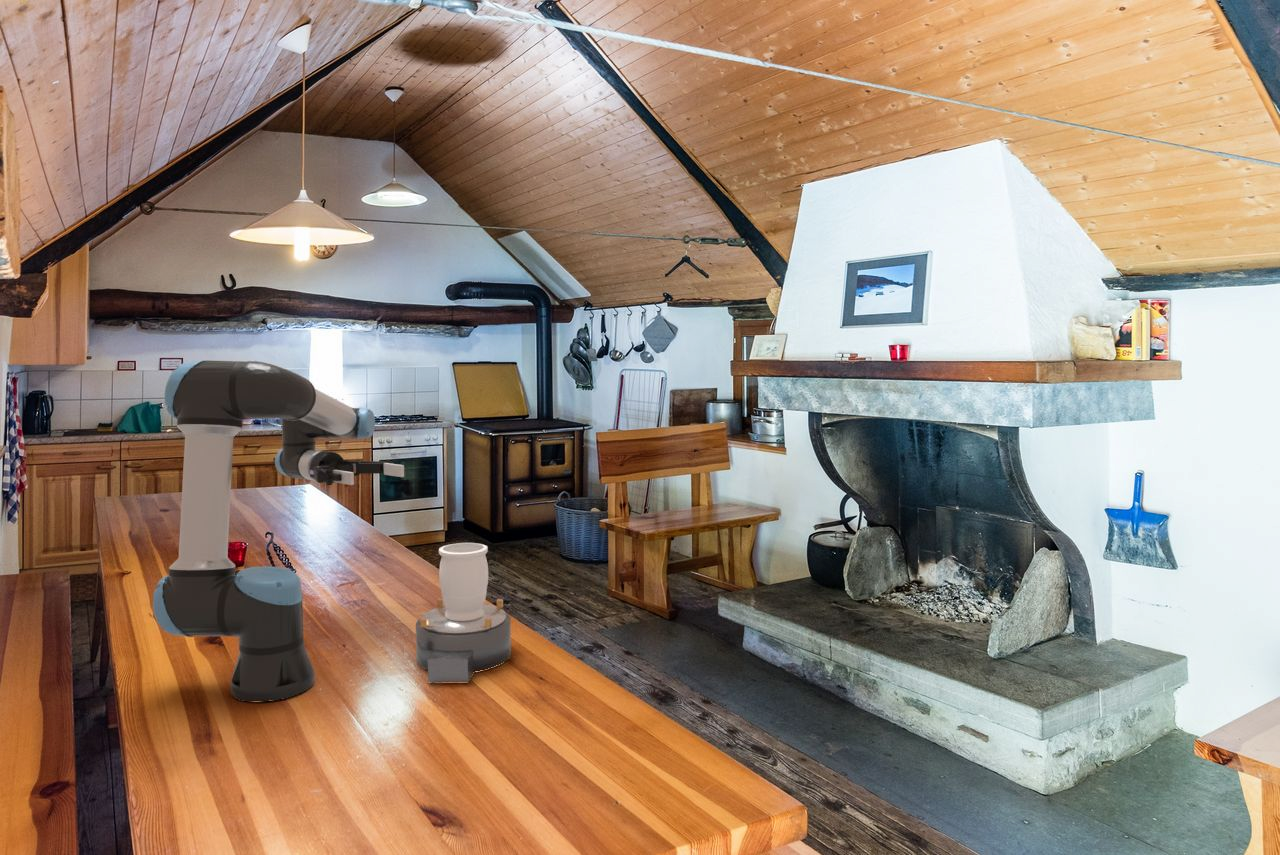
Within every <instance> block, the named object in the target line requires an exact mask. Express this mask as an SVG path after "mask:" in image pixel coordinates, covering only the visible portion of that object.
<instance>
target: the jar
mask: <svg viewBox="0 0 1280 855" xmlns="http://www.w3.org/2000/svg"><path fill="white" fill-rule="evenodd" d="M488 551H489V549H488V545H485V544H483V543H477V542H476V543H475V542H458V543H452V544H447V545H443V546H441V547H439V549H438V554H439V556H441V559H440V563H439V567H438V568H439V572H438V574H439V575H438V577H439V578H438V580H439V581H438V582H439V585H440V592H441V597H442V598H441V599H443V602H444V606H446V608H447V611H446V613H445V617H446V618H447V619H449V620H453V621H471V620H475V619H478V618H480V617H482V616H483V615H484V610H483V609H482V606H483V604H485V601H486V597H487V592H488V591H487V590H488V584H489V565H488V561H487V557H486V554H487V553H488Z"/></svg>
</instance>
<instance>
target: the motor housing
mask: <svg viewBox="0 0 1280 855" xmlns="http://www.w3.org/2000/svg"><path fill="white" fill-rule="evenodd" d="M436 603H437V604H436V607H435V608H433V609H431V610H428V611H427V612H425V613H424V614H422V616H421V617H420V618H419V619H417V620H416V622H415V640H416V642H415V643H416V645H415V646H416V647H415V648H416V663H418V664H419V665H420V666H421V667H423V668H425V669H426V670H425V671H427V670H428V671H427V680H428V681H427V683H428V682H469V683H470V681H471V679H472V678H471V676H472V674H473V675H474V673H473V672H475V671H480V670H485V669H488V668H491V667H494V666H496V665H499V664H501V663H503V662H505V661H506V660H507V659H508V658H509V657H510V658H511V656H510V655H512V652H511V651H512V643H511V642H512V640H511V639H512V638H511V635H512V634H511V633H512V631H511V629H512V628H511V615H510V614H509V613H508V612H506V611H505V610H504V609H503V607H504V599H503V598H497V600H496V605H492V604H485V603H484V604H483V606H482V609H483V610H484V615H483V616H482V617H480V618H478V619H475V620H471V621H453V620H449V619H447V618H446V617H445V613H446V611H447V608H446V606H445V604H444V602H443V598H438V599H437V600H436ZM510 658H509V659H510ZM505 663H506V662H505ZM418 664H417V665H418ZM419 665H418V666H419ZM420 666H419V667H420ZM421 667H420V668H421ZM472 677H473V676H472ZM470 678H471V679H470ZM469 680H470V681H469Z"/></svg>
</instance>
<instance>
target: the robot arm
mask: <svg viewBox="0 0 1280 855" xmlns="http://www.w3.org/2000/svg"><path fill="white" fill-rule="evenodd" d="M164 403H165V404H164V405H165V406H166V411H167V412H168V415H170V416H171V417H172V418H174V419H176V428H177V429H178V430H180V432H182V433H183V435H184V450H183V466H182V467H183V470H182V486H181V487H182V489H181V490H182V491H181V504H180V506H181V508H180V523H179V524H180V525H179V526H180V527H179V543H178V558H177V559H176V560H175V561H174V562H173V563H172V564H171V565H170V566H168V574H167V575H165V576H163V577H161V579H159V580H158V582H157V584H156V588H155V589H154V592H153V598H152V607H153V608H152V609H153V614H154V617H155V621H156V622H157V624H158V626H159V627H161V629H162V630H163V631H164V632H165V633H167V634H169V635H173V636H182V637H183V636H184V637H188V638H193V637H236V638H238V656H237V659H236V663H235V667H234V670H233V673H232V677H231V680H230V694H232V695H233V696H234V697H235V698H237V699H240V700H244V701H269V700H277V701H279V700H278V699H282V698H286V699H288V698H287V697H290V696H293V695H296V694H298V695H300V694H299V693H301V694H302V692H303V693H304V691H305V692H306V691H308V690H309V689H311V688H312V687H313V686H314V684H315V681H316V679H315V669H314V666H313V664H312V661H311V659H310V657H309V654H308V652H307V649H306V647H305V644H304V643H305V642H304V617H303V616H304V612H303V611H304V610H303V599H304V594H303V590H302V583H301V578H300V576H299V575H298V574H297V573H296V572H294V571H292V570H291V569H288V568H284V567H279V566H272V565H270V566H269V565H268V566H266V565H263V566H251V567H246V568H243V569H241V570H239V571H238V572H237V573H236V564H235V562H233V561H232V560H231V559H230V558H229V557H228V555H229V552H228V550H229V533H230V532H229V531H230V510H231V509H230V508H231V495H232V494H231V492H232V476H233V475H232V472H233V455H234V454H233V453H234V452H233V451H234V438H235V436H236V435H237V434H239V433H240V432H241V431H242V430H243V420H267V419H268V420H269V419H280V420H281V434H282V446H281V449H279V450H278V452H277V453H276V456H275V458H274V466H275V467H276V468H275V469H276V470H277V472H279V473H280V474H281V475H283V476H287V477H289V478H292V479H300V480H301V479H302V480H306V481H313V482H314V484H318V483H319V484H321V483H323V484H324V483H325V484H326V486H332V485H333V484H334V483H337V484H342V485H347V486H348V485H349V486H354V485H355V480H354V479H355V477H357V476H358V477H359V476H360V475H363V474H365V475H366V474H368V475H369V474H383V475H385V476H390V477H398V478H399V477H400V478H404V477H405V465H404V464H398V463H396V464H395V463H394V461H392V460H389V459H386V460H385V461H384V460H383V461H378V460H375V461H374V460H360V459H357V460H349V459H344V458H343V457H342V456H341V455H340V454H339V453H338V452H333V451H327V450H320V449H316V439H353V440H360V439H370V438H371V437H372V436H373V435H374V433H375V428H376V419H375V414H374V412H373V410H371V409H370V408H366V407H363V408H362V407H351V406H349V405H347V404H345V403H343V402H341V401H340V400H338V399H336V398H334V397H332V396H330V395H328V394H326V393H324V392H323V391H321V390H318V389H316V388H315V385H314V384H313V382H311V381H310V380H309V379H307V378H306V377H304V376H302V375H300V374H298V373H295V372H293V371H292V370H288V369H287V368H284V367H281V366H278V365H274V364H273V363H272V364H271V363H267V362H263V361H256V360H254V361H253V360H248V361H240V360H239V361H238V360H205V359H203V360H199V361H186V362H183V363H180V364H179V365H178V366H177V367H176V368H175V369H174V370H173V371H172V372H171V374H170V375H169V376H168V378H167V382H166V384H165V389H164ZM354 469H355V470H354ZM354 471H355V472H354ZM232 695H231V696H232ZM233 696H232V697H233ZM296 696H297V695H296ZM234 697H233V698H234ZM293 697H294V696H293ZM235 698H234V699H235ZM290 698H291V697H290ZM237 699H236V700H237ZM240 700H239V701H240ZM282 700H283V699H282ZM244 701H243V702H244Z"/></svg>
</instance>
